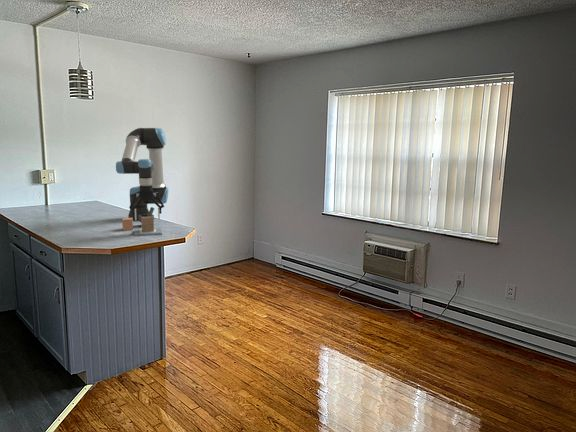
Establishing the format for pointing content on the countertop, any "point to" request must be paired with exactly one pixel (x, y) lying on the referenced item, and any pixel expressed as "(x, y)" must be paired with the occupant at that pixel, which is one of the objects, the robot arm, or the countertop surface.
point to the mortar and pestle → (147, 214)
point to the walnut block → (147, 224)
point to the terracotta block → (127, 224)
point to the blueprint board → (139, 232)
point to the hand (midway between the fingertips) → (147, 219)
